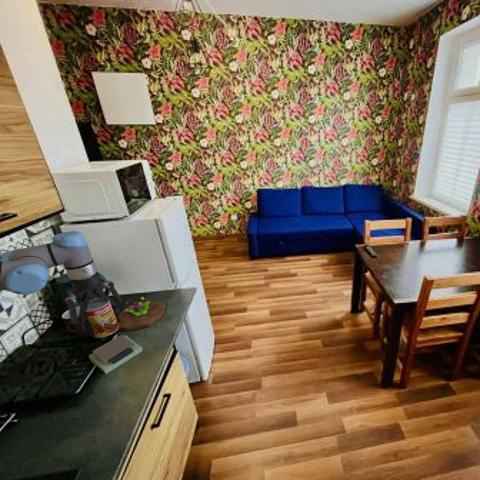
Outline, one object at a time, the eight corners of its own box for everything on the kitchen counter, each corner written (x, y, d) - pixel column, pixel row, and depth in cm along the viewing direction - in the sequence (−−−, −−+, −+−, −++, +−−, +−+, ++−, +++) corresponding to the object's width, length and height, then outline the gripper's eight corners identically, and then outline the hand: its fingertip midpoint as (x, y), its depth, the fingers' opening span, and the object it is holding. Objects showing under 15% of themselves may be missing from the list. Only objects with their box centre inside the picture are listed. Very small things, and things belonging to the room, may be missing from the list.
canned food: (112, 336, 97) (101, 309, 93) (88, 339, 96) (76, 312, 92) (123, 322, 105) (113, 296, 100) (101, 324, 103) (90, 298, 99)
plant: (155, 329, 120) (149, 308, 116) (108, 334, 117) (99, 313, 113) (171, 302, 138) (166, 284, 134) (130, 306, 135) (124, 287, 131)
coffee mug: (83, 322, 124) (75, 305, 120) (99, 324, 123) (92, 306, 119) (57, 341, 113) (48, 322, 110) (75, 343, 112) (66, 324, 108)
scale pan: (92, 352, 103) (91, 351, 102) (122, 336, 111) (121, 334, 111) (104, 363, 98) (104, 362, 98) (134, 345, 106) (134, 344, 106)
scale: (91, 361, 103) (86, 352, 102) (127, 340, 114) (124, 332, 112) (106, 376, 97) (102, 367, 95) (143, 352, 107) (140, 343, 106)
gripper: (48, 293, 81) (75, 349, 90) (122, 265, 97) (139, 315, 106) (39, 286, 85) (66, 341, 94) (112, 260, 101) (129, 309, 110)
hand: (105, 327), depth 100 cm, fingers closed on canned food, 8 cm apart
